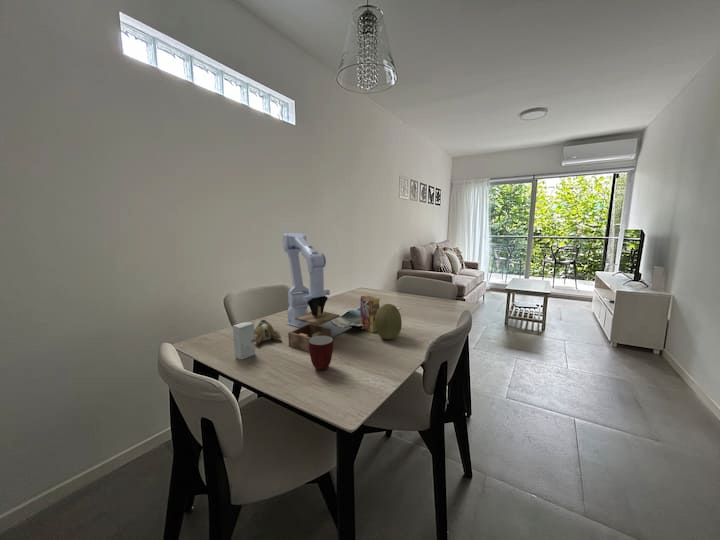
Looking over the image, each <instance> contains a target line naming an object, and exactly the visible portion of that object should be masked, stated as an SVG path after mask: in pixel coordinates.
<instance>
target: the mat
mask: <svg viewBox="0 0 720 540" xmlns="http://www.w3.org/2000/svg"><path fill="white" fill-rule="evenodd" d="M316 326H318V325H316ZM319 326H320V327H324V328H328V329H331V338H332V339H334V338H335V337H338V336H339V335H341V334H344V333H345V332H346V331H349V330H351V329H353V328H352V327H347V328H340V327H337V326H335V325H333V324H332V323H331V322H329V321H328V322H326V323H324V324H321V325H319Z"/></svg>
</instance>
